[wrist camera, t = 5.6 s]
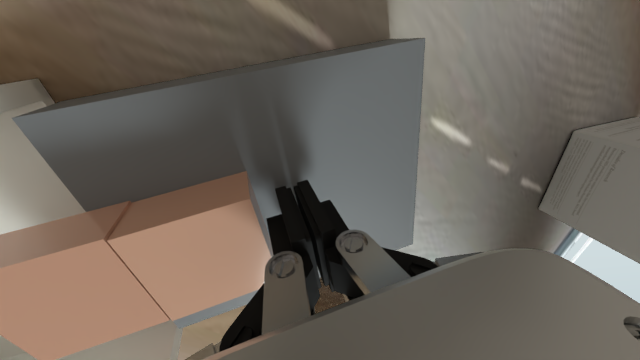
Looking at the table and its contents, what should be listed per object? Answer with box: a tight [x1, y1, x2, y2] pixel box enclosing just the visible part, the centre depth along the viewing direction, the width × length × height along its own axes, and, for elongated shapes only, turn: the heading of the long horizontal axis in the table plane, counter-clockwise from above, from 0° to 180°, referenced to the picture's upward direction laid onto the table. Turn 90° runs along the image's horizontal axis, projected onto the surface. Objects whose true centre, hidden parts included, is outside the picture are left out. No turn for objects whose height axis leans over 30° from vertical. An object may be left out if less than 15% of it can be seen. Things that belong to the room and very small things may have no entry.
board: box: [12, 38, 425, 329], centre depth 14 cm, size 16×13×3 cm
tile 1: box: [107, 171, 274, 321], centre depth 11 cm, size 5×5×2 cm
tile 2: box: [0, 201, 170, 360], centre depth 11 cm, size 5×5×2 cm
